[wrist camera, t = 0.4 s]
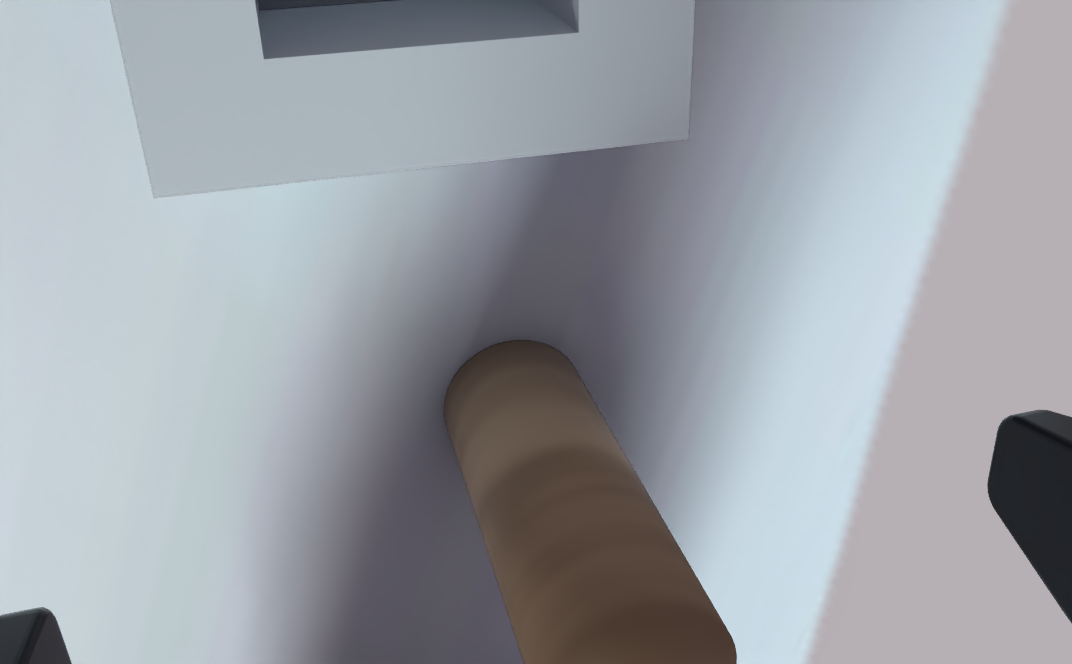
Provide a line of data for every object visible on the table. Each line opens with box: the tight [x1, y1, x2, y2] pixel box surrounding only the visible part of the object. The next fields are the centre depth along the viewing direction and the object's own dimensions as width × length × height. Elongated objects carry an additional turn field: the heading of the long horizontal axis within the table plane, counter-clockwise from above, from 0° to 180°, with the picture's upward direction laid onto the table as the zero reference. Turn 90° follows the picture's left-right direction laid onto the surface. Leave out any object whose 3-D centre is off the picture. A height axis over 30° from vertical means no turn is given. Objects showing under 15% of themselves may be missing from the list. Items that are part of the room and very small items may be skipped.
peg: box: [444, 340, 737, 664], centre depth 20 cm, size 3×3×9 cm
